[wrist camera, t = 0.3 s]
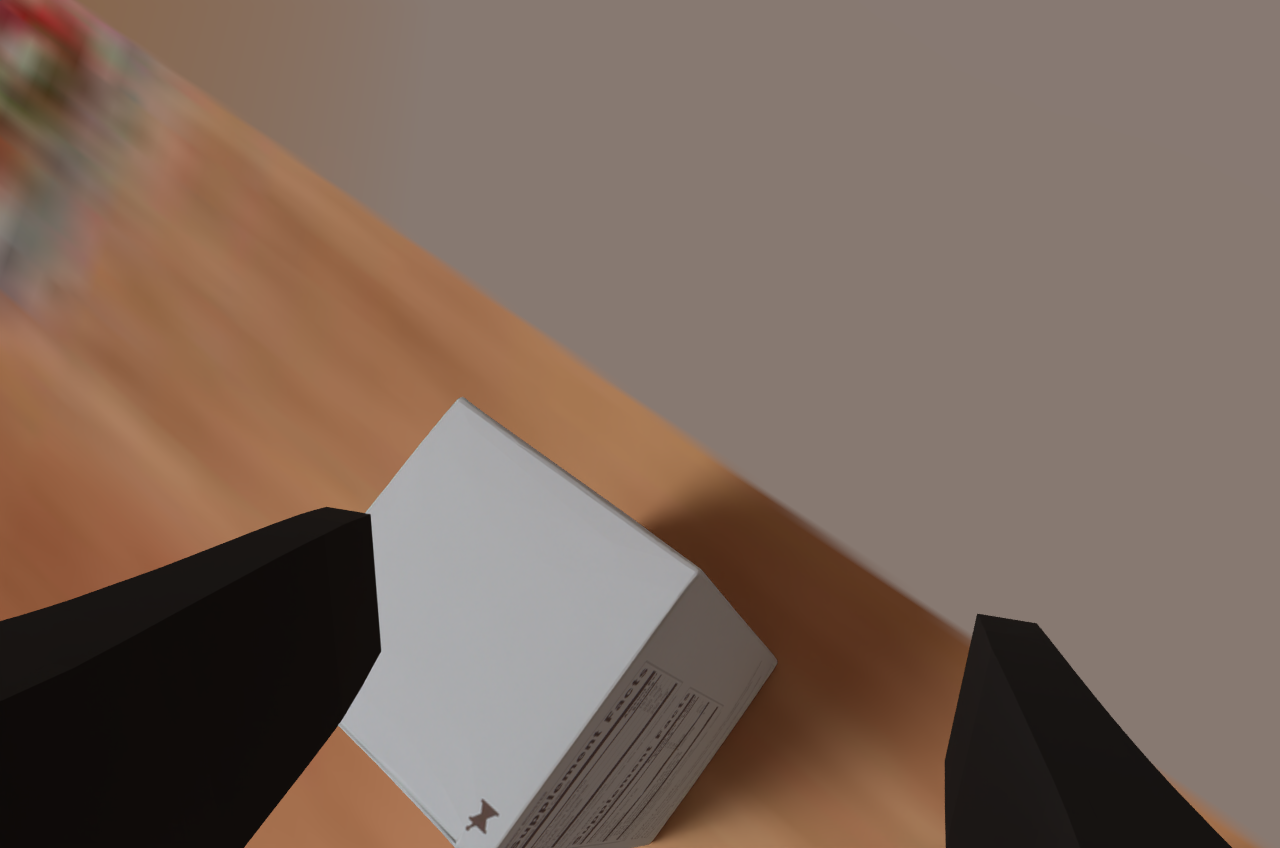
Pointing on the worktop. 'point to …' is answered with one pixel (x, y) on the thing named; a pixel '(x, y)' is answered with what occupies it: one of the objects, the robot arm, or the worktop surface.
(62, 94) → the worktop surface
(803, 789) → the worktop surface
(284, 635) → the robot arm
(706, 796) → the worktop surface
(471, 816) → the supplement box
